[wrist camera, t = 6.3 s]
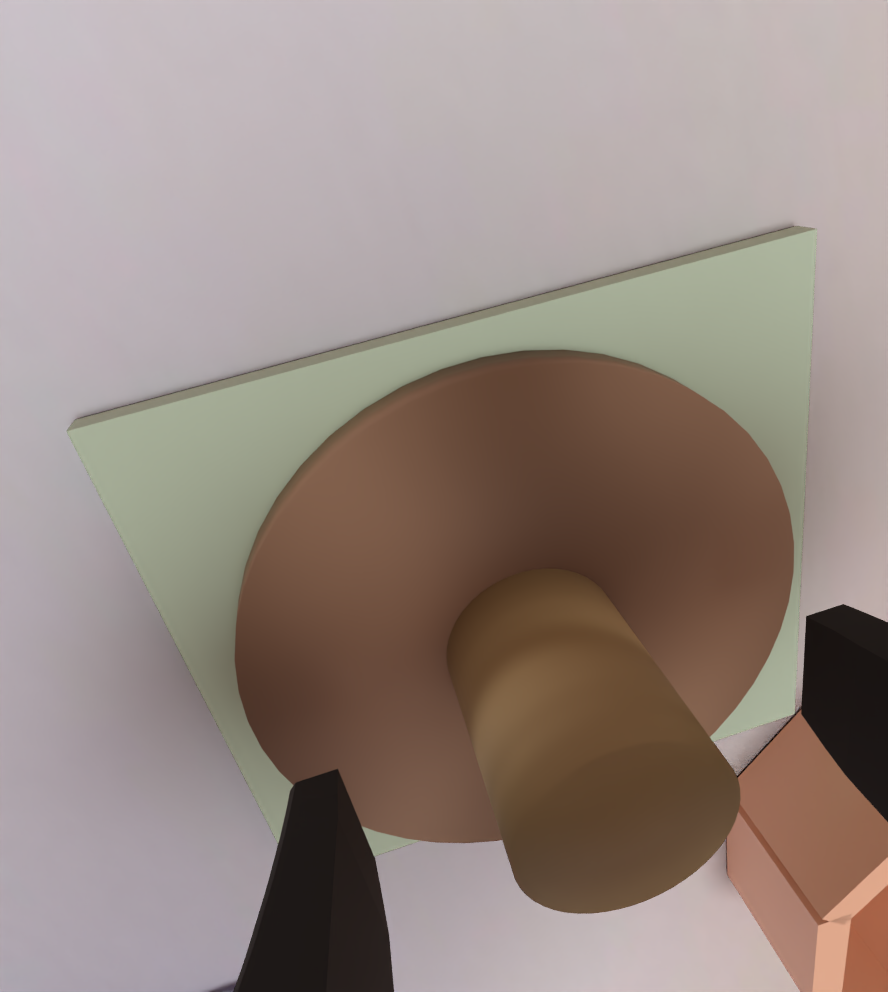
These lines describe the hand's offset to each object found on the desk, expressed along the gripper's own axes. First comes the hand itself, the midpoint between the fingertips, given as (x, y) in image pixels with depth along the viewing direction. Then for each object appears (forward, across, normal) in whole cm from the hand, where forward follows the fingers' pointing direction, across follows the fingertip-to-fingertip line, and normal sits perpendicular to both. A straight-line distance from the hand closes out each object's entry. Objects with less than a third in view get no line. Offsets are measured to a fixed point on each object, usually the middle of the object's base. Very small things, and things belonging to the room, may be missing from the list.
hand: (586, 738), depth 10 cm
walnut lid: (+3, 0, 0) cm, 3 cm away
